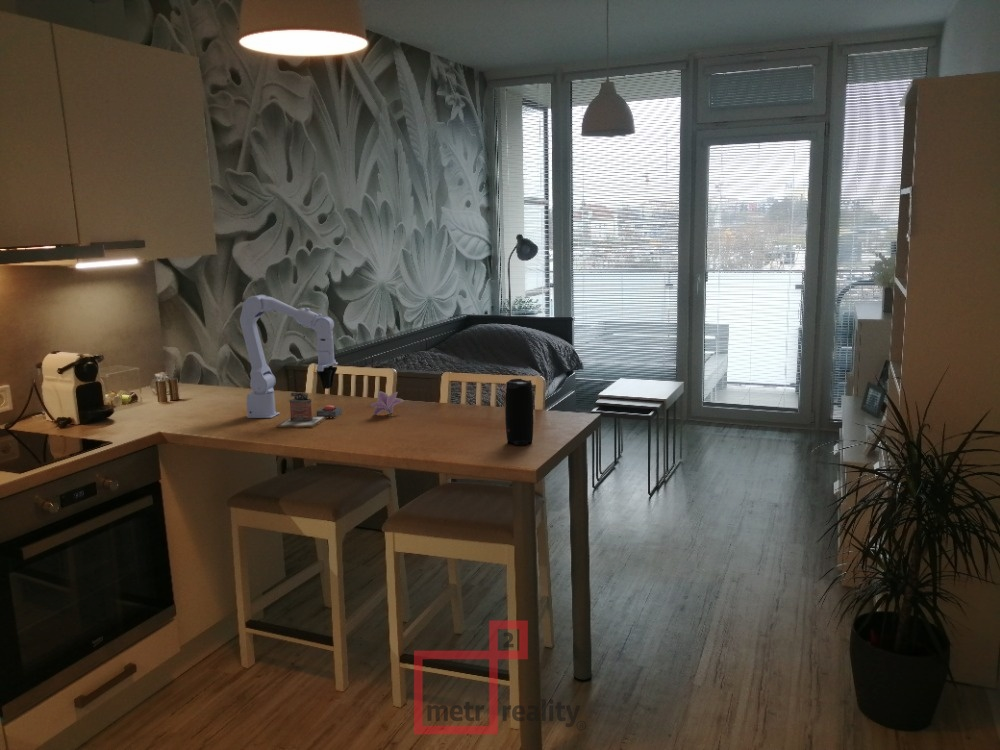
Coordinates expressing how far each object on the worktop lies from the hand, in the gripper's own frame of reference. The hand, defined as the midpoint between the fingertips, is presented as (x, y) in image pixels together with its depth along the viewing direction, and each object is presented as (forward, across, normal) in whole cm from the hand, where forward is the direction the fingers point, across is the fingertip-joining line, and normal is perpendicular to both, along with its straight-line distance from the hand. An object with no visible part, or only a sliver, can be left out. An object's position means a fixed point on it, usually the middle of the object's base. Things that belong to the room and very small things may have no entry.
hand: (327, 387), depth 285 cm
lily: (+11, +1, -21) cm, 24 cm away
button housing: (+10, 0, 0) cm, 10 cm away
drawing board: (+10, -11, +6) cm, 16 cm away
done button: (+8, 0, 0) cm, 8 cm away
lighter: (+10, -11, +6) cm, 16 cm away
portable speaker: (+11, -35, -73) cm, 82 cm away
